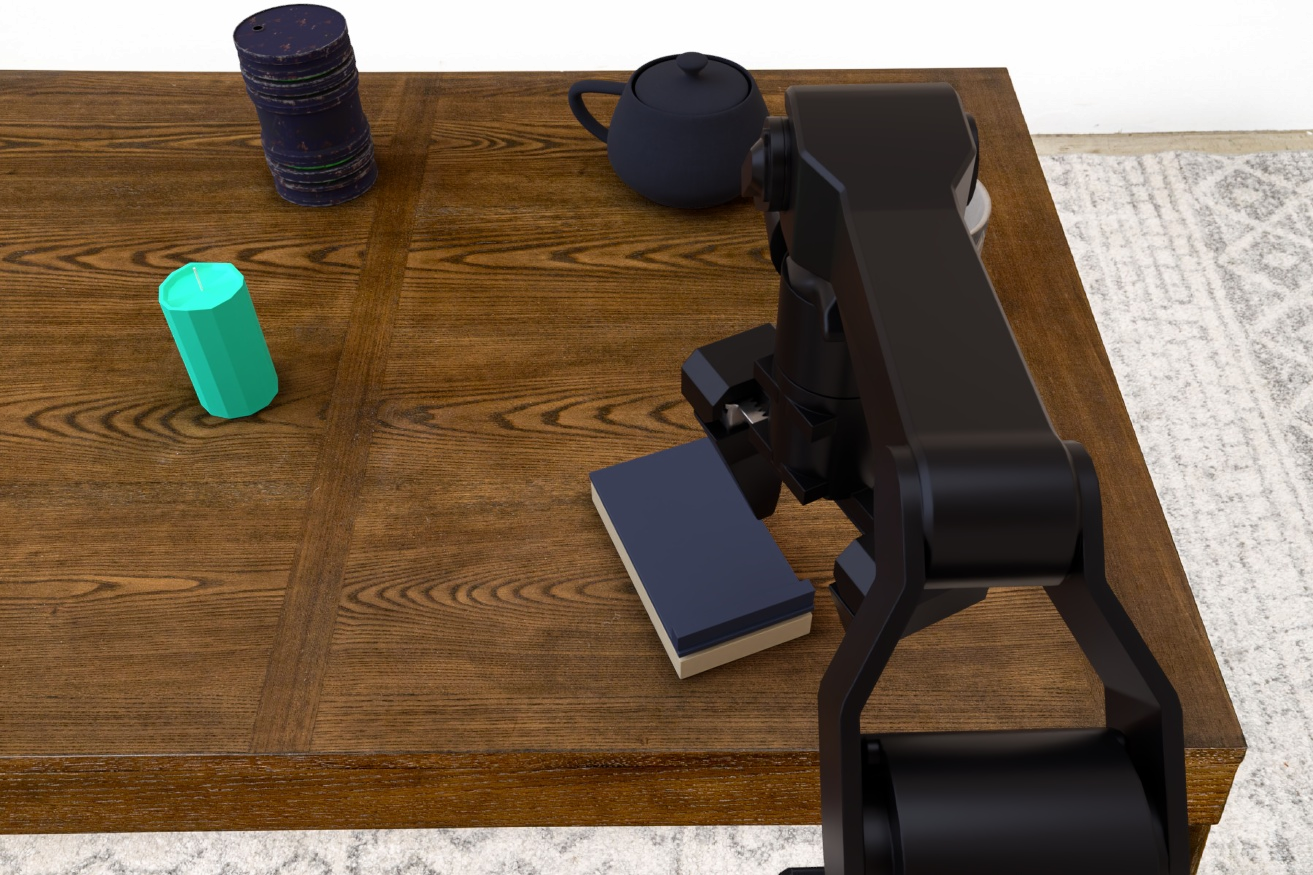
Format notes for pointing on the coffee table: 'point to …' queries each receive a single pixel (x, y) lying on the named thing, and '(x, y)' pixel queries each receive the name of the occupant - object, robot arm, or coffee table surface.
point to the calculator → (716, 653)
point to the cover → (699, 547)
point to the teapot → (679, 127)
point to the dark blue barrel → (307, 103)
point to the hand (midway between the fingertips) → (809, 573)
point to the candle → (219, 338)
